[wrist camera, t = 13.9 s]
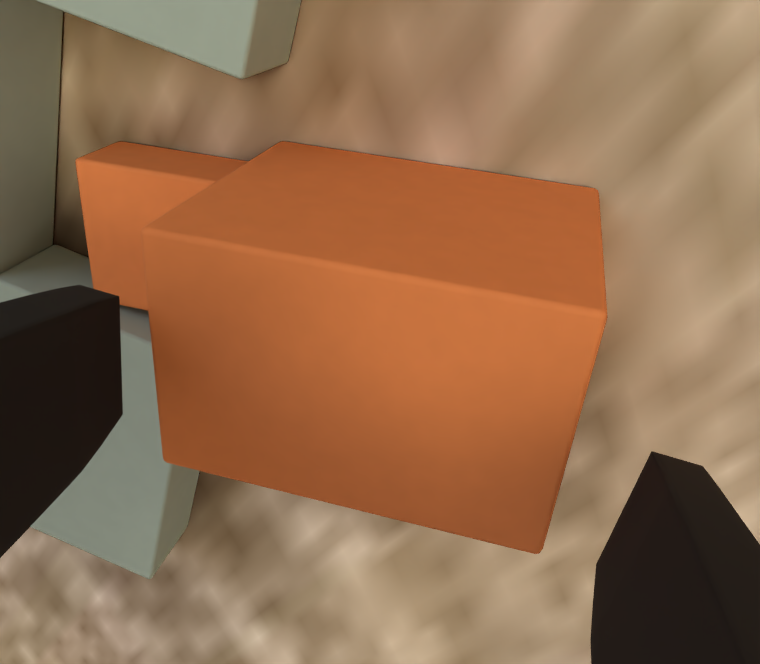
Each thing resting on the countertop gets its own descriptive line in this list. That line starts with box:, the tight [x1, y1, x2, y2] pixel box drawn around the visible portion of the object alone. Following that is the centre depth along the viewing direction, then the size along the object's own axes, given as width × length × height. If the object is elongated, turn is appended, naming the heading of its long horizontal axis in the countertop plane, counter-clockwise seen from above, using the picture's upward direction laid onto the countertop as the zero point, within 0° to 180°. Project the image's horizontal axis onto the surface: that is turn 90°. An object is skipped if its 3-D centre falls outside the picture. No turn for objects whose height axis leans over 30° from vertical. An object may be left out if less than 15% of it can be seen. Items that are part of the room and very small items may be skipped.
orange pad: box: [75, 141, 607, 554], centre depth 12 cm, size 4×10×5 cm, turn 85°
